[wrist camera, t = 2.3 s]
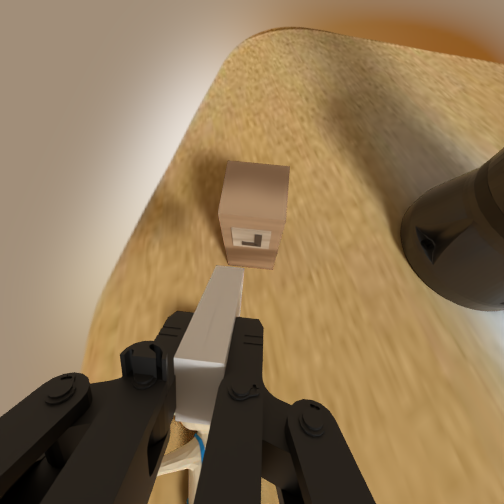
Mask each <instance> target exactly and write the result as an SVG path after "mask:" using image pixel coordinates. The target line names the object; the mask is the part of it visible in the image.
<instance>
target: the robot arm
mask: <svg viewBox="0 0 504 504" xmlns="http://www.w3.org/2000/svg"><path fill="white" fill-rule="evenodd" d="M401 240H402V245H403V249H404V252H405V254H406V257H407V259H408V261H409V263H410V264H411V266H412V267H413V269H414V270H415V272H416V273H417V274H418V275H419V277H420V278H421V279H422V280H423V281H424V282H425V283H426V284H427V285H428V286H429V287H430V288H432V289H433V290H434V291H435V292H437V293H438V294H440V295H441V296H443V297H444V298H446V299H448V300H450V301H452V302H454V303H456V304H458V305H461V306H464V307H467V308H470V309H474V310H480V311H500V310H504V148H503V149H501V150H500V151H499V152H498V153H497V154H496V155H495V156H493V157H492V158H491V159H490V160H488V161H487V162H486V163H485V164H483V165H482V166H481V167H480V168H477V169H475V170H473V171H471V172H468V173H466V174H464V175H461V176H459V177H457V178H455V179H452V180H450V181H448V182H445V183H443V184H441V185H439V186H436V187H434V188H432V189H431V190H429V191H427V192H426V193H425V194H423V195H422V196H421V197H420V198H419V199H418V200H417V201H416V202H415V203H414V204H413V205H412V206H411V207H410V208H409V209H408V210H407V212H406V214H405V216H404V218H403V221H402V226H401ZM243 276H244V268H237V267H228V266H219V265H216V267H215V269H214V271H213V274H212V276H211V278H210V280H209V282H208V284H207V287H206V289H205V291H204V293H203V295H202V297H201V300H200V302H199V304H198V306H197V308H196V310H195V313H192V312H183V311H177V312H175V313H174V314H172V315H171V316H170V317H168V319H167V320H166V322H165V324H164V325H163V328H162V329H161V330H160V332H159V335H157V337H156V339H155V340H154V341H142V342H138V343H135V344H133V345H131V346H129V347H127V348H126V349H125V350H124V351H123V352H122V353H121V354H120V359H121V367H122V375H123V376H122V377H121V378H119V379H115V380H111V381H105V382H98V383H92V384H90V383H89V379H88V377H86V376H85V375H84V374H81V373H75V372H74V373H67V374H63V375H60V376H57V377H55V378H52V379H51V380H49V381H48V382H46V383H44V384H43V385H42V386H40V387H39V388H38V389H36V390H35V391H34V392H32V393H31V394H30V395H29V396H27V397H26V398H25V399H23V400H22V401H21V402H19V403H18V404H17V405H16V406H14V407H13V408H12V409H11V410H9V411H8V412H7V413H6V414H4V415H3V416H1V417H0V504H147V503H148V500H149V497H150V494H151V491H152V489H153V486H154V483H155V480H156V477H157V474H158V471H159V468H160V465H161V462H162V459H163V456H164V453H165V451H166V448H167V445H168V442H169V438H170V424H171V421H172V419H173V416H174V413H175V421H180V422H188V423H196V424H204V425H210V429H209V433H208V438H207V443H206V447H205V452H204V457H203V461H202V466H201V471H200V475H199V480H198V484H197V489H196V494H195V498H194V503H193V504H261V477H262V478H264V479H266V480H267V481H269V482H271V483H273V484H274V485H276V490H277V494H278V499H279V504H376V503H375V501H374V499H373V497H372V495H371V493H370V491H369V488H368V486H367V484H366V482H365V480H364V478H363V476H362V474H361V472H360V470H359V468H358V466H357V464H356V462H355V459H354V457H353V455H352V453H351V451H350V449H349V447H348V445H347V443H346V441H345V439H344V437H343V435H342V433H341V431H340V428H339V426H338V424H337V422H336V420H335V418H334V417H333V416H332V414H331V413H330V411H329V410H328V409H327V408H325V407H324V406H323V405H322V404H320V403H318V402H315V401H313V400H306V399H302V400H299V401H296V402H295V403H294V404H293V405H290V404H288V403H285V402H283V401H281V400H279V399H277V398H276V397H274V396H273V395H272V394H270V393H269V392H268V390H267V389H266V387H265V386H264V383H263V379H262V363H263V326H262V324H261V322H260V321H259V319H251V318H242V317H239V316H240V309H241V298H242V287H243Z"/></svg>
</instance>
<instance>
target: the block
mask: <svg viewBox="0 0 504 504" xmlns="http://www.w3.org/2000/svg"><path fill="white" fill-rule="evenodd" d="M289 170H290V166H280V165H270V164H259V163H249V162H239V161H229V160H228V163H227V168H226V173H225V178H224V184H223V189H222V194H221V199H220V204H219V210H218V217H219V222H220V226H221V231H222V236H223V241H224V245H225V250H226V255H227V260H228V265H233V266H242V267H251V268H260V269H269V270H273V267H274V263H275V259H276V256H277V252H278V248H279V245H280V241H281V237H282V234H283V230H284V226H285V222H286V214H287V199H288V185H289Z"/></svg>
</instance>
